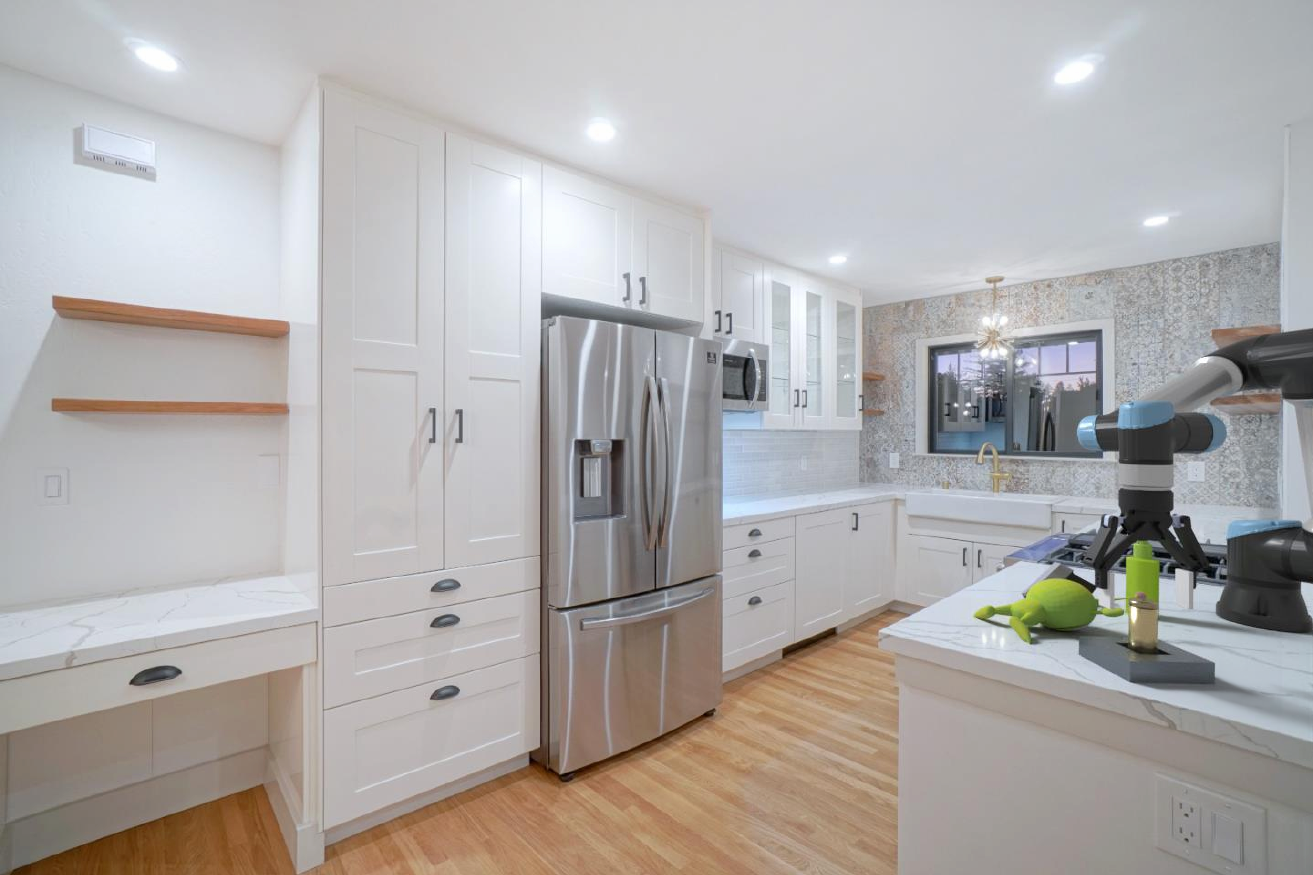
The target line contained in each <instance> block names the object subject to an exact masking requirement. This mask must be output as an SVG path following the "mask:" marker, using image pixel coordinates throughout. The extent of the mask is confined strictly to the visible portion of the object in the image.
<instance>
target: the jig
mask: <svg viewBox="0 0 1313 875" xmlns="http://www.w3.org/2000/svg"><path fill="white" fill-rule="evenodd" d="M1078 655H1079V656H1080V655H1081V656H1080V657H1083V658H1085V659H1086V660H1089V661H1090V662H1092V663H1093V662H1094V663H1093V664H1095V663H1096V664H1095V665H1097V664H1098V665H1097V666H1099V667H1101V666H1102V667H1101V668H1102V669H1105V670H1106V671H1109V672H1111V673H1112V674H1114V673H1115V674H1114V675H1116V674H1117V675H1116V676H1118V677H1120V678H1122V679H1124V680H1125V681H1127V682H1130V683H1160V682H1169V683H1171V684H1172V683H1173V684H1210V685H1211V684H1213V685H1215V683H1216V682H1215V681H1216V677H1215V676H1216V662H1214V661H1211V660H1210V659H1207V658H1204V657H1203V656H1199V655H1198V654H1194V653H1193V652H1190V651H1187V650H1185V649H1182V648H1180V647H1178V646H1175V645H1174V644H1171V643H1169V642H1166V641H1163V640H1161V639H1159V638H1158V655H1149V654H1138V653H1136V652H1134V651H1132V650H1129V649H1128V636H1090V635H1086V636H1085V635H1084V636H1083V635H1081V636H1080V635H1079V636H1078ZM1169 683H1168V684H1169Z"/></svg>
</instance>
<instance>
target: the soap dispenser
mask: <svg viewBox="0 0 1313 875" xmlns="http://www.w3.org/2000/svg"><path fill="white" fill-rule="evenodd" d="M1132 546H1133V549H1132V550H1133V552H1132V553H1133V555H1132V556H1126V558H1125V559H1126V562H1125V565H1126V566H1125V569H1126V570H1125V598H1130V597H1134V594H1135V593H1136V592H1143V593H1144V594H1145V595H1146V596H1147V599H1148V600H1152V601H1156V602H1158V619H1160V618H1159V614H1160V613H1159V612H1160V560H1158V559H1155V558H1153V544H1151V543H1150V542H1149V540H1148V541H1139V540H1138V541H1137V542H1136V543H1134V544H1132ZM1126 613H1127V614H1129V599H1125V614H1126ZM1127 614H1126V615H1127Z"/></svg>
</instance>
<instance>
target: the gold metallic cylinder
mask: <svg viewBox="0 0 1313 875" xmlns="http://www.w3.org/2000/svg"><path fill="white" fill-rule="evenodd" d="M1127 637H1128V649H1129V650H1132V651H1134V652H1136V653H1138V654H1149V655H1158V639H1159V618H1158V602H1156V601H1152V600H1148V599H1142V598H1129V615H1128V635H1127Z"/></svg>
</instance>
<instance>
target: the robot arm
mask: <svg viewBox="0 0 1313 875" xmlns="http://www.w3.org/2000/svg"><path fill="white" fill-rule="evenodd" d="M1277 389H1278V390H1279V389H1280V392H1281V397H1282V400H1283V401H1284V402H1287V403H1289V404H1290V405H1292V406H1293V407H1294V410H1295V417H1296V424H1297V431H1298V436H1299V437H1298V438H1299V444H1300V450H1301V456H1302V462H1303V464H1302V465H1303V469H1304V475H1305V476H1304V477H1305V482H1306V484H1305V485H1306V490H1307V495H1308V502H1309V503H1308V504H1309V509H1310V513H1311V514H1310V515H1311V517H1310V518H1309V519H1307V520H1306V521H1305V522H1302V521H1301V520H1299V519H1238V520H1232V521H1231V522H1230V523H1229V524H1228V526H1227V527H1228V528H1227V532H1226V534H1227V535H1226V537H1225V540H1226V582H1225V585H1224V587H1223V589H1222V592H1221V594H1220V597H1219V600H1217V601H1216V604H1215V614H1216V616H1218V617H1220V618H1222V619H1225V620H1228V621H1230V622H1235V623H1238V624H1242V625H1245V626H1246V625H1247V626H1250V627H1256V628H1262V629H1267V630H1268V629H1269V630H1274V631H1282V632H1283V631H1284V632H1292V633H1293V632H1295V633H1297V632H1298V633H1304V632H1311V631H1312V630H1313V617H1312V616H1311V615H1310V614H1309V611H1308V607H1307V604H1306V602H1305V598H1304V597H1303V594H1302V583H1305V584H1310V585H1313V327H1309V328H1303V329H1296V330H1289V331H1283V332H1275V333H1266V334H1258V335H1254V336H1251V337H1250V336H1249V337H1246V338H1243V339H1241V340H1237V341H1235V342H1232V343H1230V344H1228V345H1225V346H1224V347H1221V348H1218V349H1217V350H1214V351H1212V352H1210V353H1208V354H1206V355H1204V356H1203V357H1201V358H1199V359H1197V360H1195V361H1194V362H1193V363H1192V364H1191V365H1190V367H1189V369H1188V370H1187V371H1186V372H1184V373H1181V374H1180V375H1178V376H1176V377H1174V378H1172V379H1171V380H1169V381H1167V382H1165V383H1163V384H1161V385H1160V386H1159V385H1158V387H1156V388H1153V389H1152V390H1150V391H1149V392H1147V393H1145V394H1143V395H1141V396H1140V397H1138V398H1136V399H1134V400H1132V401H1127V402H1124V403H1122V404H1121V405H1120V406H1119V408H1117V409H1115V410H1114V411H1112V412H1109V413H1106V414H1096V415H1087V416H1085V417H1083V418H1082V419H1081V420H1080V422H1079V423H1078V426H1077V429H1076V436H1077V438H1078V442H1079V444H1080V446H1081V447H1083V448H1084V449H1086V450H1088V451H1096V452H1097V451H1098V452H1102V453H1108V452H1110V453H1111V452H1113V453H1115V452H1117V453H1118V465H1117V466H1118V467H1117V468H1118V472H1117V473H1118V475H1117V476H1118V478H1117V479H1118V480H1117V481H1118V485H1120V486H1122V487H1120V488H1119V489H1118V492H1117V495H1118V496H1117V498H1118V499H1117V500H1118V501H1117V504H1118V505H1117V506H1118V507H1119V509H1120V513H1119V516H1117V515H1112V514H1106V513H1104V514H1102V515H1101V518H1100V525H1099V528H1098V531H1097V532H1096V534H1095V536H1094V538H1093V539H1092V542H1091V544H1090V546H1089V548H1088V550H1087V552H1086V553H1085V556H1084V558H1083V560H1082V564H1083V565H1085V566H1086V567H1087V566H1088V567H1091V568H1093V570H1094V585H1095V586H1096V587H1097V588H1096V589H1098V599H1099V604H1098V605H1099V606H1101V607H1102V608H1108V609H1115V608H1116V607H1115V601H1116V600H1115V597H1116V596H1115V572H1114V571H1111V569H1112V568H1113V566H1115V564H1116V563H1117V562H1118V561H1119V560H1120V558H1121V557H1122V556H1123V555H1124V554H1125V553H1126V551H1127V550H1128V549H1129V548H1130V547H1131V546H1132V545H1134V543H1136V542H1138V540H1139V541H1148V542H1149V541H1153V542H1158V543H1159V544H1160V545H1161V546H1162V547H1163V548H1164V549H1165V551H1166V552H1167V553H1168V554H1169V555H1170V556H1171V558H1172V559H1173V560H1174V561H1175V562H1176V563H1177V565H1178V566H1179V567H1180V568H1175V573H1174V574H1175V575H1174V576H1175V581H1174V582H1175V588H1174V589H1175V595H1174V597H1175V598H1174V599H1175V601H1174V603H1175V605H1176V606H1178V607H1182V608H1185V609H1187V610H1194V590H1196V588H1197V587H1198V586H1197V581H1198V580H1197V576H1198V575H1197V573H1198V574H1199V573H1200V574H1201V573H1203V571H1204V568H1205V569H1208V568H1209V567H1210V562H1209V560H1208V558H1207V556H1206V553H1205V552H1204V550H1203V548H1202V546H1201V544H1200V543H1199V540H1198V538H1197V537H1196V533H1194V530H1193V528H1192V523H1191V522H1192V520H1191V517H1190V516H1189V515H1184V514H1180V513H1173V514H1172V515H1171V512H1172V511H1173V510H1174V508H1175V506H1174V505H1175V504H1174V503H1175V502H1174V497H1175V496H1174V491H1173V490H1171V489H1170V488H1172V487H1174V486H1175V480H1174V479H1175V476H1174V475H1175V471H1174V469H1175V468H1174V455H1175V454H1176V455H1177V454H1178V455H1183V454H1184V455H1185V454H1187V455H1188V454H1190V455H1193V454H1195V455H1201V454H1206V453H1211V452H1213V451H1216V450H1218V449H1219V448H1220V447H1221V446H1222V445H1223V444H1225V441H1226V440H1227V437H1228V436H1227V434H1228V432H1227V427H1226V426H1227V425H1226V424H1225V423H1224V421H1223V420H1222V419H1221V418H1220V417H1218V416H1217V415H1214V414H1212V413H1206V412H1201V411H1196V410H1197V409H1199V408H1201V407H1202V406H1204V405H1207V404H1208V403H1209V402H1212V401H1214V400H1215V399H1223V398H1227V397H1231V396H1232V395H1235V394H1236V393H1239V392H1246V391H1259V390H1277ZM1171 527H1172V529H1173V531H1174V533H1173V532H1171V530H1170V529H1171ZM1118 528H1120V529H1119V530H1118ZM1174 534H1175V535H1174ZM1177 539H1178V541H1177Z"/></svg>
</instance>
